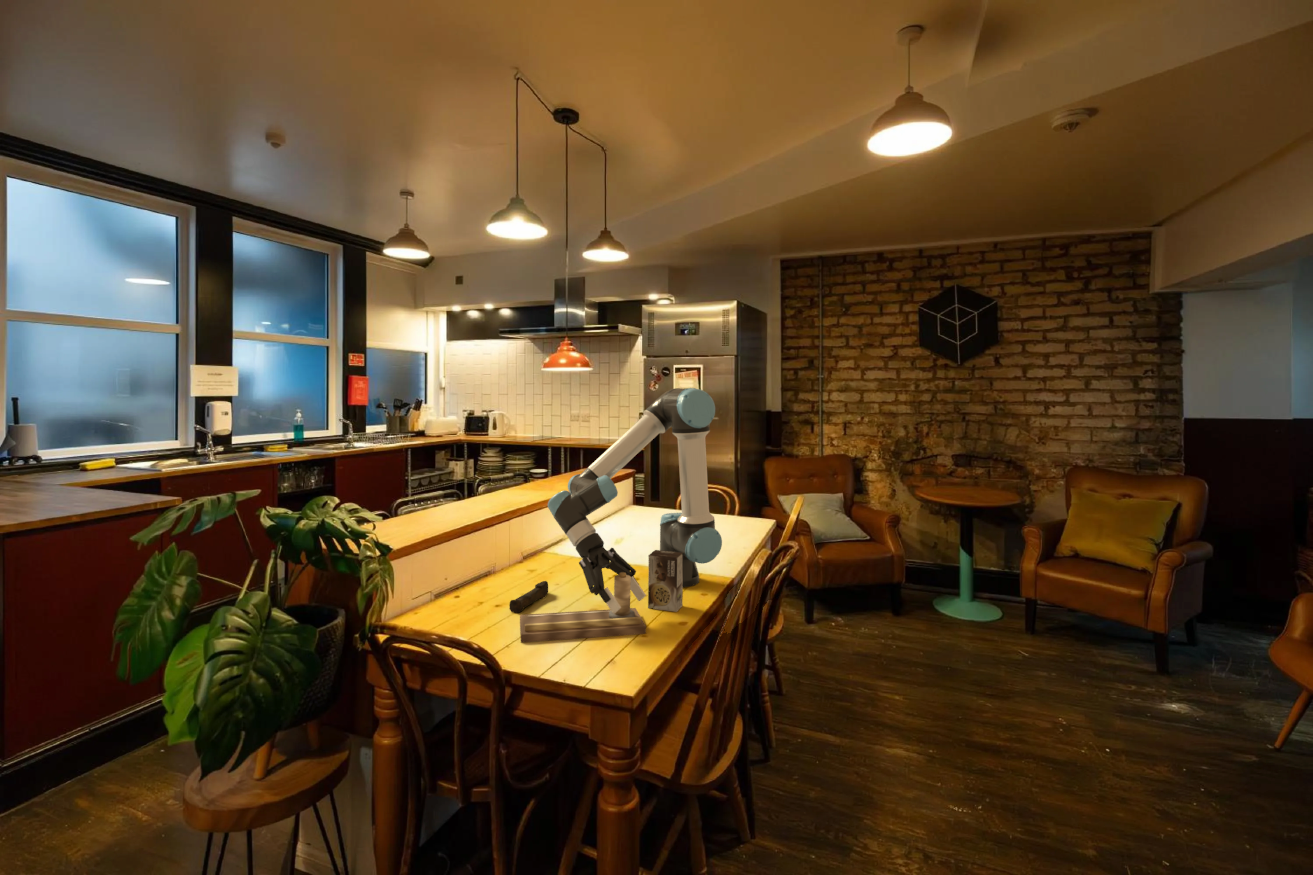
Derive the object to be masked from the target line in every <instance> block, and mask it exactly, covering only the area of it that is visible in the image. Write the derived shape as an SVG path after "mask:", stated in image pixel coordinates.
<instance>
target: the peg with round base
mask: <svg viewBox="0 0 1313 875" xmlns="http://www.w3.org/2000/svg"><path fill="white" fill-rule="evenodd" d="M613 579H614V580H613V581H614V583H613V585H614V586H613V588H614V589H613V596H614V598H615V599H616V601H617V602H618V604H619V605H620V607H621V608H620V609H619V610H618V611H617V612H616V613H615V614H613V613H612V611H610V612H609V618H610V619H613V618H629V617H635V612H634V611H632V610H630V608H631V589H630V588H631V576H629V575H626V573H625V572H621V573H619V575H618V574H616V575H614V578H613Z"/></svg>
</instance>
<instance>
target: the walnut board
mask: <svg viewBox="0 0 1313 875" xmlns="http://www.w3.org/2000/svg"><path fill="white" fill-rule="evenodd" d="M630 610H632V611H634V612H635V617H629V618H613V619H610V618H609V612H610V611H611V610H610V609H597V610H594V609H593V610H581V611H580V610H579V611H565V612H562V611H561V612H549V613H548V612H547V613H546V612H545V613H532V614H531V613H529V614H520V615H519V632H520V643H533V642H549V641H560V640H561V641H562V640H574V639H576V640H577V639H590V638H603V637H605V638H606V637H615V636H617V637H619V636H633V635H645V633H646V634H647V626H646V624H645V622H644V620H643V618H642V616H641V615H640V613H639V612H638V610H637V608H636V607H630Z"/></svg>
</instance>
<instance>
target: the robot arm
mask: <svg viewBox="0 0 1313 875" xmlns="http://www.w3.org/2000/svg"><path fill="white" fill-rule="evenodd" d="M715 415H716V405H715V401H714V399H713V398H712V396H711V395H710V394H709V392H707V391H705V390H703V389H700V388H696V387H688V388H679V387H678V388H676V387H675V388H671V389H669V390H667V391H666V392H664V393H662V394H661V395H660V396H659V397H657V398H656V399H655V400H654V401H653V402H652V403H651V404H650V405H649V406H648V407H647V408H646V409H644V410H643V416H642V417H640V419H639V420H637V421H636V422H635V423H634V424H633V425H632V426H631V427H629V429H628V430H627V431H626V432H625V433H623V434H622V435H621V436H620V437H619V438H618V439H617V440H616V441H615V442H614V443H613V444H612V445H610V447H608V448H607V449H606V450H605V451H604V452H603V453H602V454H601V455H599V457H598V458H596V460H594V462H592V463H591V464H590V465H589V466H588V467H587V468H585V470H584V471H582V472H581V473H579V474H575V475H572V477H570V478H569V480H568V482H567V490H562V491H560V492H559V491H558V492H557V493H555V494H554V495H553V496H551V498H549V500H548V501H547V508H548V511H550V514H551V515H552V516H553V519H554V520H555V522H556V523H557V524H558V525H559V527H560V528H561V529H562V531H563V533H564V534H565V535H566V537H567V538H568V540H569V542H570V544H572V546H573V547H575V551H576V552H577V553H578V555H579V556H580V557H581V560H579V561H578V564H579V566H580V568H581V569H582V572H583V575H584V577H585V581H586V583H587V586H588V589H589V592H590V593H591V594H594V595H595V596H598V595H599V597H600V598H601V599H602V600H603V602H604V603H605V604H606V605H607V606H608V608H609V610H611V611H612V613H613V614H615V613H616V612H617V611H618V610H619V609H620V608H621V607H620V605H619V604H618V602H617V601H616V599H615V598H614V594H613V593H612V592H611V590H610V588H608V587H605V582H604V581H605V580H604V576H603V574H604V573H603V569H606V570H611V571H612V572H613V573H616V575H619V573H621V572H625V573H626V575H629V576H631V588H630V592H631V593H632V594H633V595H634V596H635V599H637V601H638V602H641V601H642V600H643V599H644V598H645V597H646V596H647V594H646V593H645V591H644V589H642V587H641V585H640V583H639V582H638V580H637V579H636V578H635V576H636V572H637V570H636V569H635V568H634V567H633V566H631V565H630V563H628V562H627V560H625V559H624V558H623V557H622V556H621V555H620V554H618V553H617V551H616V550H615V548H614V547H611V548H609V549H608V550H607V549H605V546H604V544H605V542H604V540H603V539H602V537H601V535H600V534H599V533H597V531H596V530H597V529H596V528H595V527H594V526H593V524H592V523H591V521H590V520H589V519H588V518H587V517H588V516H589V515H590V514H592V513H594V512H595V511H597V510H599V509H600V508H602V507H603V506H605V505H606V504H609V503H611V501H613V500H614V499H615V498H616V497H617V496H618V489H617V487H616V485H615V483H614V481H613V480H612V478H613V477H614V476H616V474H617V473H618V472H620V471H621V470H622V469H623V468H624V467H625V466H627V464H628V463H629V462H630V461H631V460H633V459H634V457H636V455H637V454H639V453H640V452H641V451H642V450H643V449H644V448H645V447H646V446H647V445H649V443H651V442H652V441H653V439H655V438H656V437H657V436H658V435H659V434H664V433H666V432H667V431H668V430H669V429H670V428H671V430H672V431H671V433H672V435H673V436H674V437H676V438H677V452H678V466H679V468H678V470H679V484H680V485H679V486H680V487H679V488H680V500H681V501H680V504H681V512H670V513H669V512H668V513H664V514H662V515H661V517H660V524H659V526H660V527H659V534H660V535H659V550H662V551H672V552H682V553H683V588H688V587H694V586H696V585H698V584H699V583H700V573H699V570H698V567H697V564H700V565H701V564H707V563H710V562H712V561H713V560H715V559H716V557H717V556H718V555H719V554H720V552H721V549H722V546H723V539H722V536H721V534H720V532H719V531H718V530H717V529H716V524H715V516H714V515H713V514H712V513H711V512H710V503H709V485H708V483H709V482H708V468H707V466H708V464H707V449H706V448H707V446H706V436H707V435H708V434H709V433H710V432H711V428H710V424H711V423H712V421H713V420H714V419H715Z"/></svg>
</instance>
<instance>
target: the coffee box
mask: <svg viewBox="0 0 1313 875" xmlns="http://www.w3.org/2000/svg"><path fill="white" fill-rule="evenodd" d="M647 557H648V576H647V577H648V583H647V584H648V591H647V596H648V597H647V602H648V603H647V609H651V608H653V609H652V610H661V611H667V612H675V613H677V612H678V611H679V610H680V609H681V608H682V607H683V592H684V591H683V589H684V587H683V553H682V552H672V551H662V550H660V549H654V550H653V551H652V552H651V553H649V554H648V556H647Z"/></svg>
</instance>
